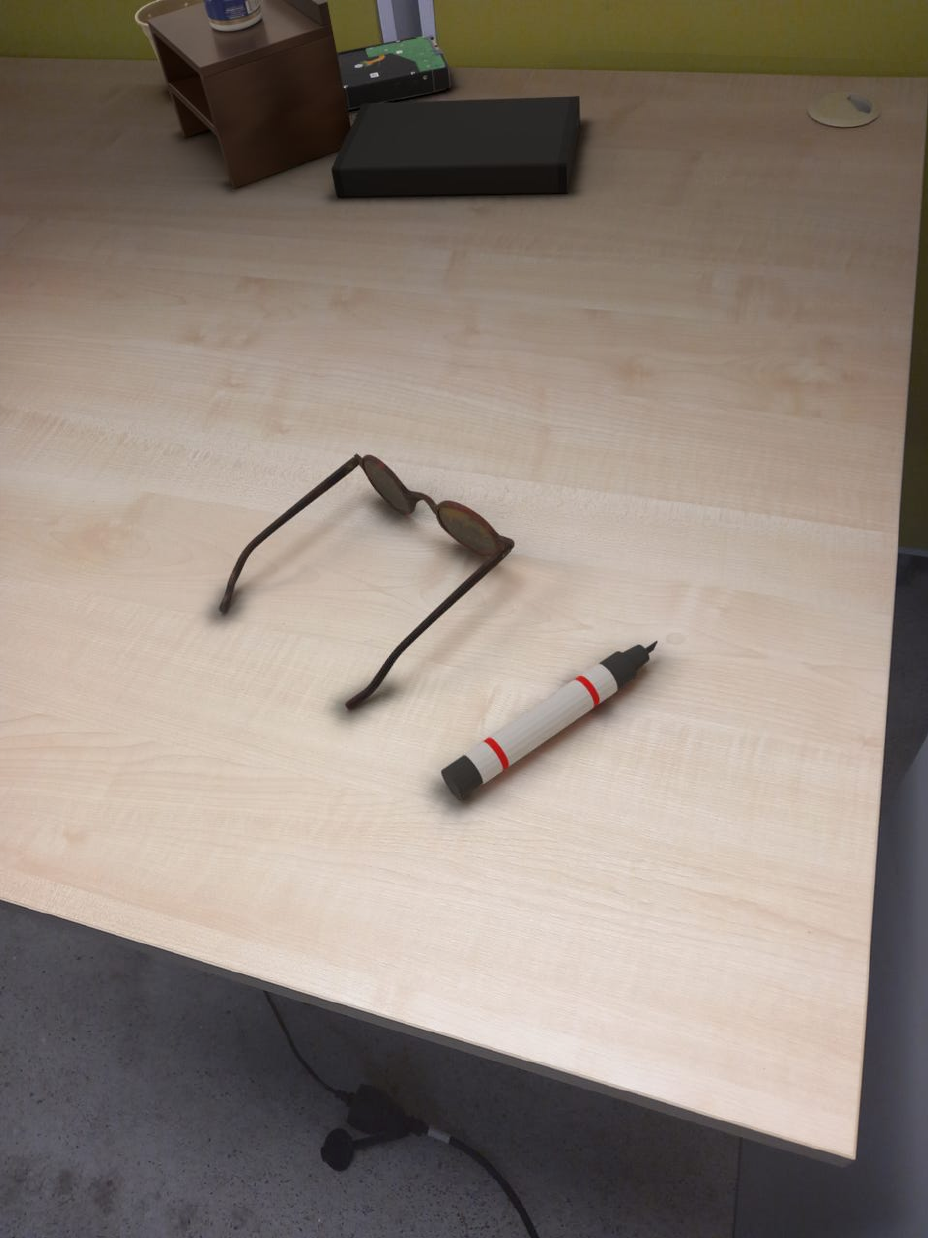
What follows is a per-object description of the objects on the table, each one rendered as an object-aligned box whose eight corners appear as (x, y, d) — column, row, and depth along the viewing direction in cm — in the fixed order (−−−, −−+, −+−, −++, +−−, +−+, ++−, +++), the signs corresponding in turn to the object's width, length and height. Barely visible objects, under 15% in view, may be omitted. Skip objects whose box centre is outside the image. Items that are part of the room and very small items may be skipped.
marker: (463, 805, 57) (459, 787, 56) (443, 782, 58) (438, 763, 57) (667, 663, 62) (668, 643, 60) (644, 644, 63) (645, 623, 61)
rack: (234, 188, 106) (193, 44, 96) (182, 134, 116) (139, -2, 105) (354, 144, 110) (327, 1, 99) (294, 95, 119) (263, -40, 109)
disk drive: (325, 118, 115) (453, 89, 116) (320, 92, 113) (450, 63, 114) (313, 81, 122) (434, 54, 122) (308, 56, 119) (431, 29, 120)
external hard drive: (367, 130, 111) (362, 102, 109) (580, 124, 107) (580, 94, 105) (337, 197, 103) (331, 168, 100) (568, 193, 99) (567, 163, 96)
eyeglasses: (517, 572, 68) (513, 518, 64) (359, 719, 62) (344, 670, 58) (364, 484, 75) (351, 431, 71) (208, 608, 69) (185, 557, 65)
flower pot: (211, 63, 128) (190, -14, 121) (250, 82, 123) (230, 3, 116) (145, 90, 125) (120, 12, 118) (183, 111, 120) (158, 32, 113)
